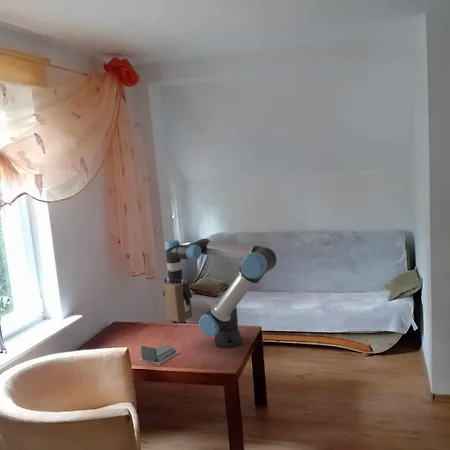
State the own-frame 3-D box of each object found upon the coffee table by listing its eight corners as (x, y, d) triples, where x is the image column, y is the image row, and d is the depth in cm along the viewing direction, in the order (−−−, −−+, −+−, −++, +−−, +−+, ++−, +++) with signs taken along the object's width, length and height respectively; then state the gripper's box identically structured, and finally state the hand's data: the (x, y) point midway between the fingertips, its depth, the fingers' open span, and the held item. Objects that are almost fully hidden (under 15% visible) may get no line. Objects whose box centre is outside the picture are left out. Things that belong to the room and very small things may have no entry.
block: (166, 319, 291) (162, 283, 288) (180, 314, 298) (177, 279, 295) (178, 323, 284) (174, 286, 281) (193, 317, 291) (189, 281, 287)
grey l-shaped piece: (179, 352, 286) (178, 339, 285) (159, 364, 273) (157, 350, 272) (159, 348, 294) (158, 335, 293) (138, 360, 281) (137, 346, 280)
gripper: (196, 269, 283) (200, 309, 286) (162, 266, 296) (166, 305, 300) (187, 272, 277) (191, 314, 280) (153, 269, 290) (157, 309, 294)
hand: (178, 309), depth 290 cm, fingers closed on block, 11 cm apart
